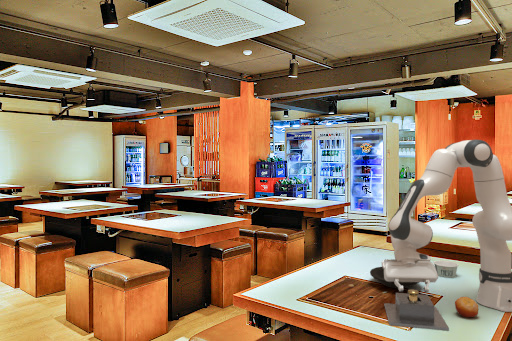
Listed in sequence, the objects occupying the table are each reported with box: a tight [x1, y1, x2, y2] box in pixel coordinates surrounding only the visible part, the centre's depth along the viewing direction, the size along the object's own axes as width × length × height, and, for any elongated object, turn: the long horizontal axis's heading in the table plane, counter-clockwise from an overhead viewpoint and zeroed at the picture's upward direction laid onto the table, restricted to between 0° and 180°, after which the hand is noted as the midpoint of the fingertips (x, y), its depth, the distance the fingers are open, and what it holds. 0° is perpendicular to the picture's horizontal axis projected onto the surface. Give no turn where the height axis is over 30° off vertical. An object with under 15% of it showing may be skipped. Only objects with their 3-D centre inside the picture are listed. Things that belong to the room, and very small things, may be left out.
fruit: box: [454, 296, 479, 318], centre depth 147 cm, size 8×8×8 cm
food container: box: [432, 260, 459, 279], centre depth 201 cm, size 12×12×7 cm
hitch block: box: [383, 292, 450, 332], centre depth 145 cm, size 20×20×7 cm
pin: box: [407, 289, 420, 301], centre depth 146 cm, size 4×4×9 cm
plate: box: [369, 266, 420, 290], centre depth 184 cm, size 28×24×6 cm
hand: (414, 291), depth 146 cm, fingers open, 8 cm apart
